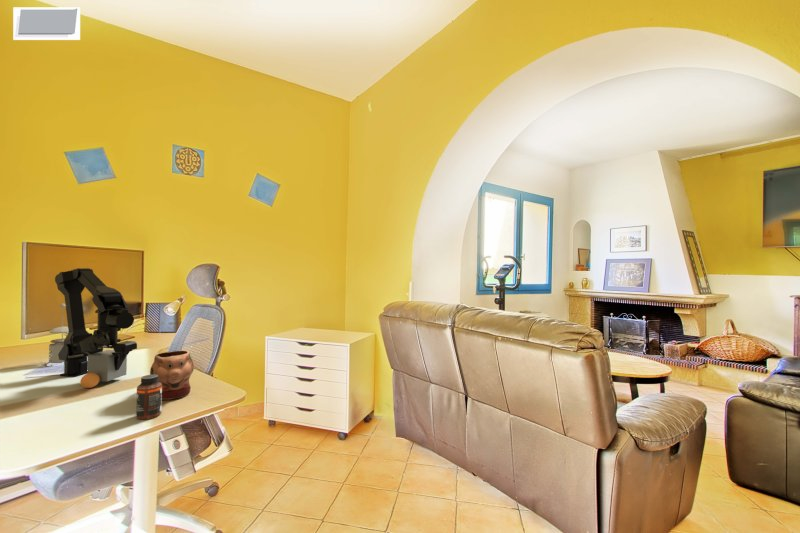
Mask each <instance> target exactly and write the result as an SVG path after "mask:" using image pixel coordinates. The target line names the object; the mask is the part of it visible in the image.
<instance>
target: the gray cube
mask: <svg viewBox="0 0 800 533" xmlns="http://www.w3.org/2000/svg"><path fill="white" fill-rule="evenodd" d="M113 352H115V351H114V350H113V349H107V350H106V349H105V350H103V351H102V352H98V353H94V354H90V355H88V357H87V361H88V373H95V374H97V375H98V376H99V378H100V380H99V382H109V381H113V380H114V379H115V380H116V379H117V378H120V377H123V376H127V370H128V369H127V365H128V364H127V361H128V358H127V357H128V355H127V356H126V358H125V360H124V361H123V363H122V365H121V367H120V368H119V370H115V356H114V355H113V354H112V353H113ZM88 373H87V374H88Z"/></svg>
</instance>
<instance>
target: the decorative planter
mask: <svg viewBox="0 0 800 533" xmlns="http://www.w3.org/2000/svg"><path fill="white" fill-rule="evenodd" d="M194 368H195V365H194V361H193V359H192V357H191V353H190V352H189V351H188V350H173V351H164V352H159V353H157V354H155V356H154V360H153V363H152V364H151V366H150V370H149V375H153V374H156V375H158V381H159V382H161V384H162V400H173V399H179V398H183V397H186V396H189V395H190V392H191V387H192V386H191V385H190V384H191V383H190V379H191V376H192V374H193V372H194V370H195V369H194Z"/></svg>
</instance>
